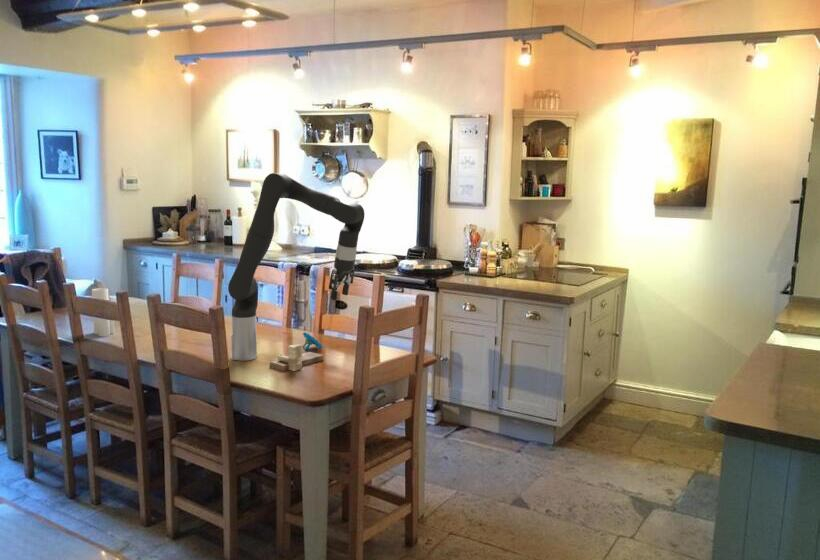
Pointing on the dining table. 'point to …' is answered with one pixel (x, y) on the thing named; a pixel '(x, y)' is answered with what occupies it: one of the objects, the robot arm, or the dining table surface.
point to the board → (306, 359)
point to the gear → (310, 341)
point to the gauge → (293, 357)
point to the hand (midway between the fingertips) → (339, 297)
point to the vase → (102, 325)
